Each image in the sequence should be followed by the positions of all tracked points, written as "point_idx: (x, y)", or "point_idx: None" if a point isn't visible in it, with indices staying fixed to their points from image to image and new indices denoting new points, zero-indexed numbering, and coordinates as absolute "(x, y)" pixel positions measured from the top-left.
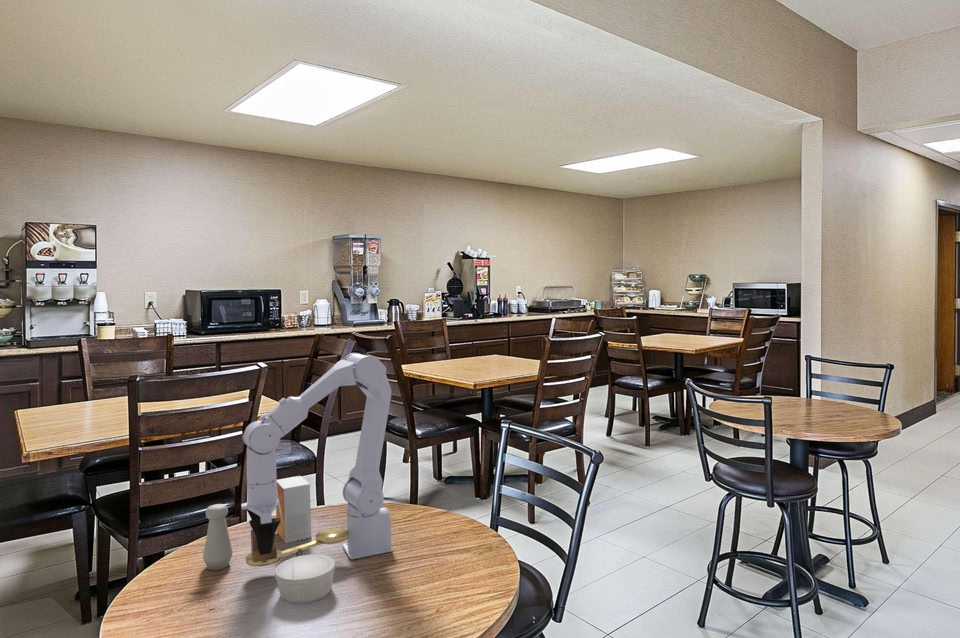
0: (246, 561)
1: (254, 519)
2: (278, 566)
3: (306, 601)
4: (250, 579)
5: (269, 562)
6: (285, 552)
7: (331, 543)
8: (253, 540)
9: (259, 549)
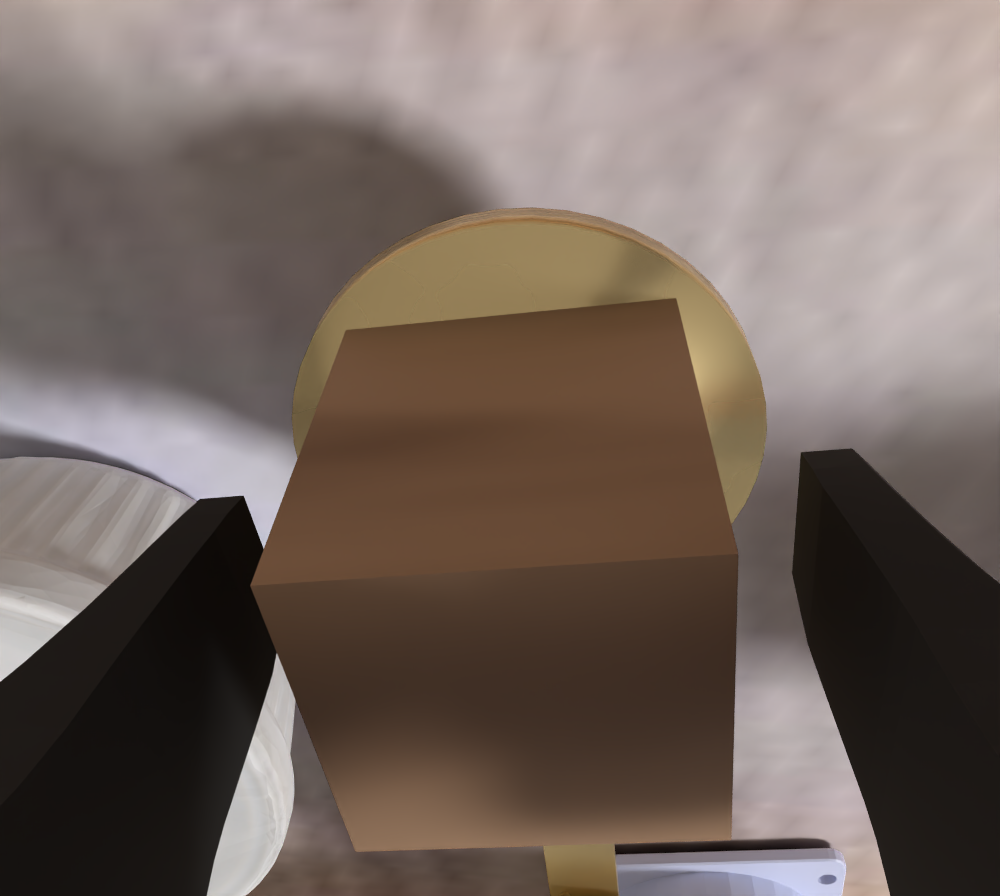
0: (447, 230)
1: (956, 760)
2: (21, 613)
3: None
4: (484, 175)
5: None
6: None
7: None
8: (268, 556)
9: (150, 555)
